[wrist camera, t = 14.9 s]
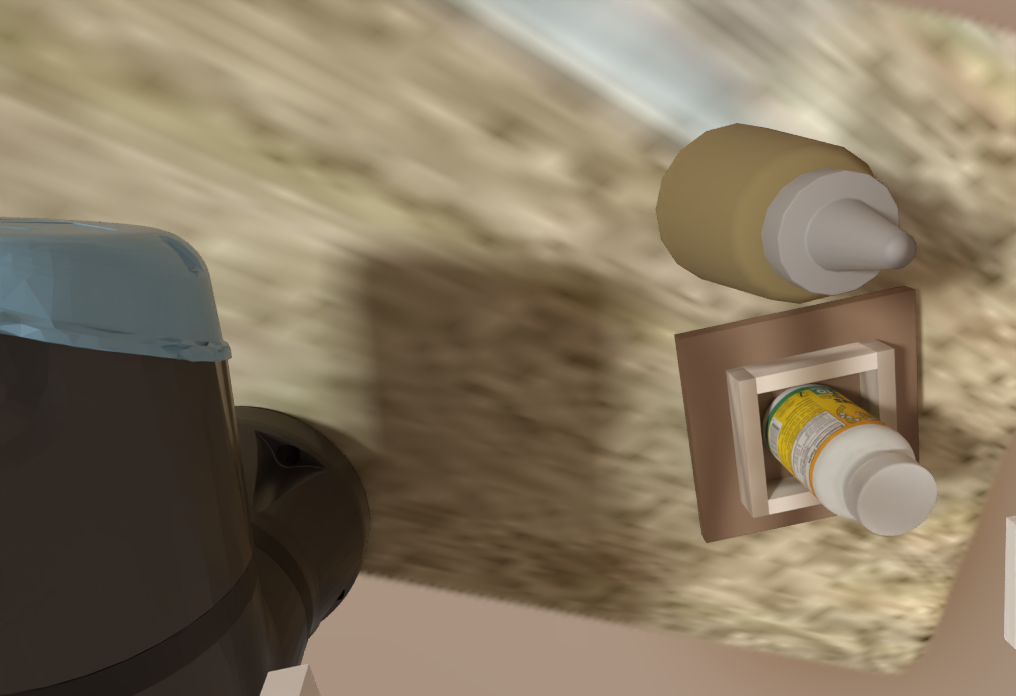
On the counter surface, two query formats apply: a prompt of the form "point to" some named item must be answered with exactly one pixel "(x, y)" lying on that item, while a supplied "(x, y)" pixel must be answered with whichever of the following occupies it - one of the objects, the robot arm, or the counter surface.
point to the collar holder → (769, 372)
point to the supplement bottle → (849, 459)
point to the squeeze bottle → (778, 215)
